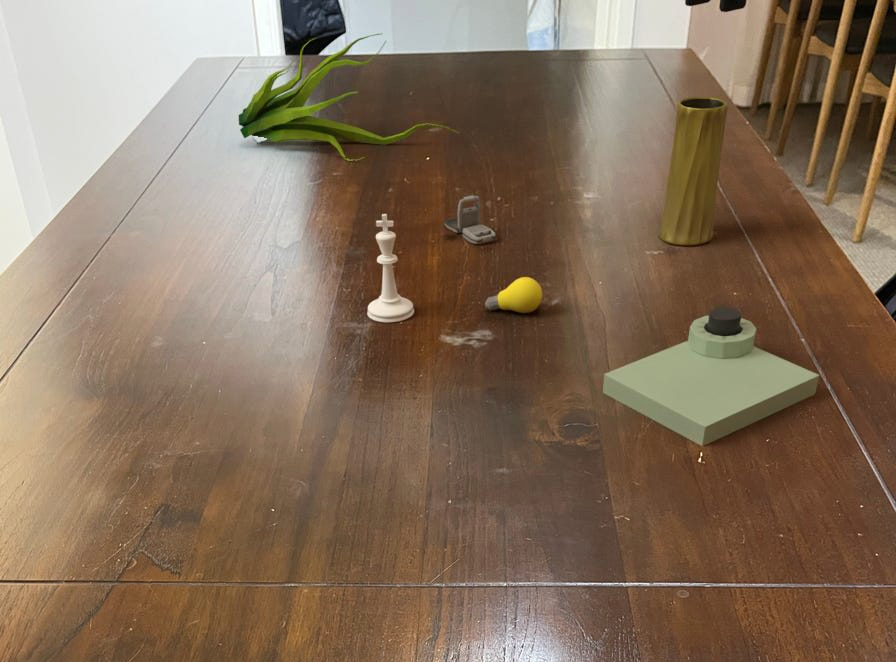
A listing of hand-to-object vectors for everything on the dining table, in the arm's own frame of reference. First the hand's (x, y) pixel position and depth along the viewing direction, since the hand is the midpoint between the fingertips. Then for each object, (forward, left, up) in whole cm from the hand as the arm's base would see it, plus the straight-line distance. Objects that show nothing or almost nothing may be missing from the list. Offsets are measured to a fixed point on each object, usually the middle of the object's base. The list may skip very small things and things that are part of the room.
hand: (715, 4), depth 102 cm
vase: (0, 0, -23) cm, 23 cm away
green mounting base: (+26, +28, -23) cm, 45 cm away
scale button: (+21, +25, -20) cm, 38 cm away
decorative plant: (+10, -60, -23) cm, 65 cm away
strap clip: (+18, -18, -23) cm, 35 cm away
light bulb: (+28, +3, -23) cm, 37 cm away
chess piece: (+38, -5, -23) cm, 45 cm away
